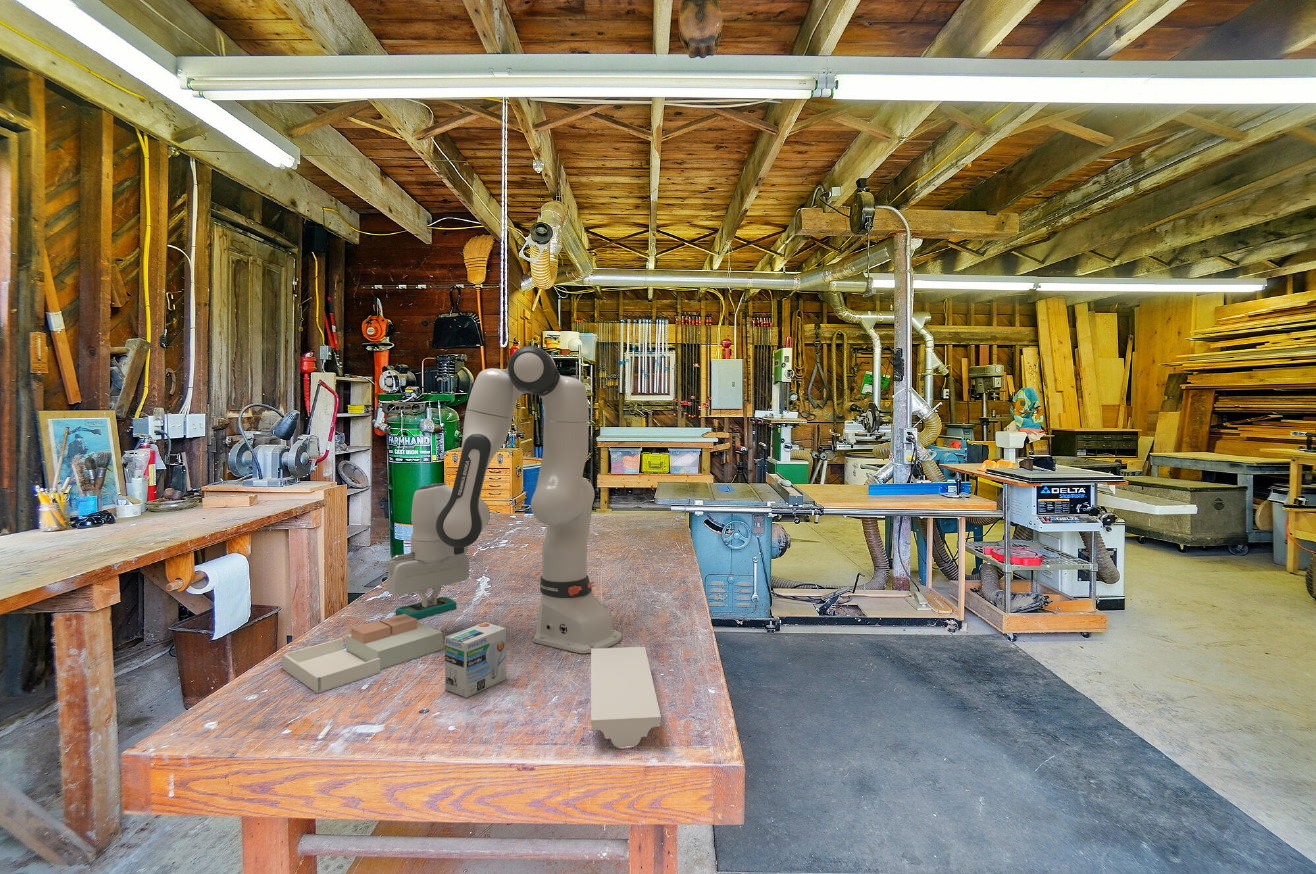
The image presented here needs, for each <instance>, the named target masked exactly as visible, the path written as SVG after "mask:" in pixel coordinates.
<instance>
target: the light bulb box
mask: <svg viewBox="0 0 1316 874" xmlns="http://www.w3.org/2000/svg"><path fill="white" fill-rule="evenodd" d="M444 674H445V675H444V690H445V691H448V692H450V693H453V694H456V695H458V696H460V697H464V698H469V697H472V696H474V695H476V694H478V693H480V692H482V691H484V690H486V689H488V688H490V687H492V686H495V685H497V684H499V683H501V682H503V681H505V680H506V679H507V628H506V627H503V626H500V625H496V624H493V623H490V622H482V623H479V624H476V625H473V626H471V627H468V628H465V629H463V630H460V631H458V632H455V633H452V634H450V635H447V636H445V637H444Z"/></svg>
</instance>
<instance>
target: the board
mask: <svg viewBox="0 0 1316 874" xmlns="http://www.w3.org/2000/svg"><path fill="white" fill-rule="evenodd" d="M345 638H346V639H345V640H346V641H345V648H346V649H345V651H347V652H349V653H350V654H352V655H354V656H356V657H357V658H359V659H361V660H363V661H365V662H367V661H370V660H373V659H377V658H380V670H383V669H386V668H390V667H392V666H395V665H399V664H401V663H405V662H407V661H411V660H414V659H417V658H420V657H422V656H426V655H430V654H432V653H435V652H437V651H441V650H443V631H441V630H439V629H436V628H433V627H431V626H429V625H426V624H425V623H422V622H419V621H417V629H414V630H411V631H407V632H404V633H400V634H397V635H393V636H392V635H390V637H387V638H383V639H380V640H376V641H373V642H369V643H366V644H363V643H361V642H359V641H357V640H355V639H353V638H351V633H349V634H346V635H345Z"/></svg>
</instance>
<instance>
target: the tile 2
mask: <svg viewBox="0 0 1316 874" xmlns="http://www.w3.org/2000/svg"><path fill="white" fill-rule="evenodd" d="M379 622H381V623H383V624H385V625H388V626H390V635H392V636H393V635H397V634H400V633H404V632H407V631H411V630H414V629H417V622H418V620H417V619H415V618H413V617H411V616H408V615H406V614H402V615H398V616H396V615H394V616H391V617H387V618H384V619H380V620H379Z"/></svg>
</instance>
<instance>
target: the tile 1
mask: <svg viewBox="0 0 1316 874" xmlns="http://www.w3.org/2000/svg"><path fill="white" fill-rule="evenodd" d="M350 634H351V638H353V639H355V640H357V641H359V642H361V643H363V644H366V643H369V642H373V641H376V640H380V639H383V638H387V637H390V626H388V625H385V624H383V623H381V622H380V620H379V621H378V620H375V621H373V622H372V621H371V622H368V623H363V624H361V625H358V626H353V627H350Z"/></svg>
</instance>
